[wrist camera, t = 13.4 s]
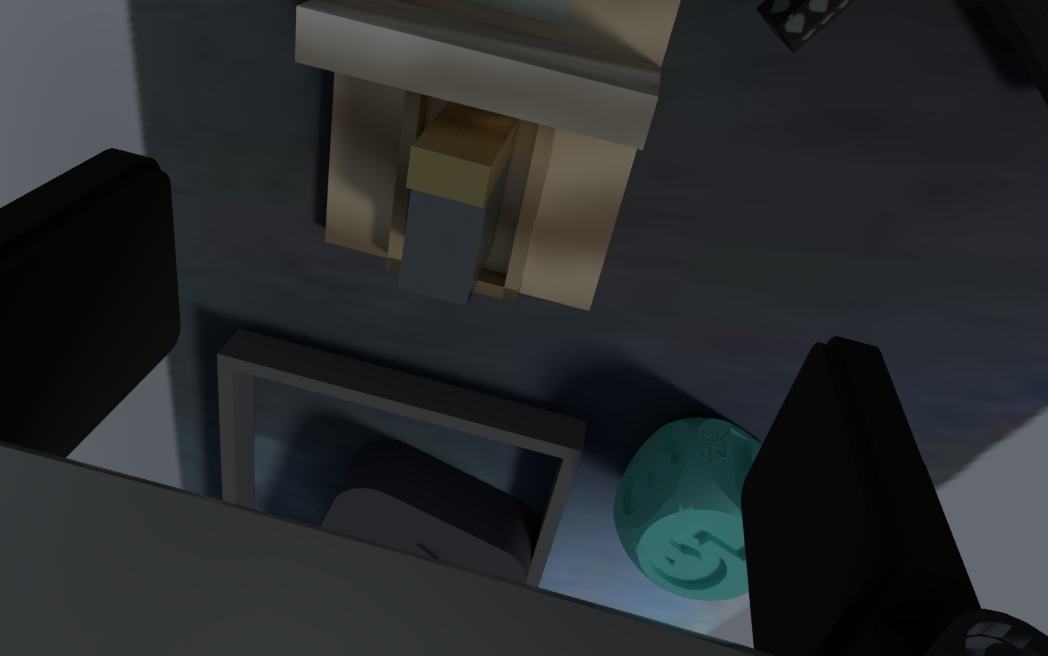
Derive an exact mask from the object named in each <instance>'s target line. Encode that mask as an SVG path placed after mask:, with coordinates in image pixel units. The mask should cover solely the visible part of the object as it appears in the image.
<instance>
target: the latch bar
mask: <svg viewBox="0 0 1048 656" xmlns="http://www.w3.org/2000/svg"><path fill="white" fill-rule="evenodd" d="M518 120H519V119H518V118H514V117H510V116H507V115H503V114H499V113H495V112H491V111H487V110H483V109H479V108H475V107H471V106H467V105H463V104H459V103H455V102H451V101H449V102H448V104H447V105H446V106H445V107H444V108H443V109H442V111H441V112H440V113H439V114H438V115H437V116H436V118H435V119H434V120H433V121H432V122H431V123H430V125H429V126H428V127H427V128H426V129H425V130H424V131H423V133H422V134H421V135H420V136H419V137H418V138H417V140H416V141H415V142H414V143H413V144H412V145H411V152H410V159H409V167H408V175H407V183H406V188H410V189H411V193H410V200H409V208H408V215H407V223H406V231H405V238H404V246H403V253H402V261H401V268H400V276H399V283H398V288H401V289H405V290H408V291H412V292H416V293H420V294H423V295H427V296H431V297H434V298H438V299H442V300H445V301H449V302H453V303H456V304H460V305H464V306H467V304H468V302H469V300H470V298H471V296H472V293H473V291H474V289H475V287H476V284H477V282H478V280H479V278H480V276H481V273H482V271H483V269H484V267H485V264H486V262H487V260H488V258H489V256H490V253H491V250H492V245H493V240H494V235H495V231H496V226H497V221H498V216H499V211H500V206H501V202H502V197H503V192H504V187H505V182H506V178H507V173H508V168H509V163H510V158H511V153H512V149H513V144H514V139H515V134H516V129H517V125H518Z"/></svg>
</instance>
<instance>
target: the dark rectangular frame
mask: <svg viewBox="0 0 1048 656" xmlns="http://www.w3.org/2000/svg"><path fill="white" fill-rule="evenodd" d="M217 368H218V395H219V421H220V447H221V473H222V500H223V501H227V502H231V503H234V504H238V505H242V506H245V507H249V508H253V509H254V376H257V377H261V378H265V379H268V380H272V381H276V382H279V383H283V384H287V385H291V386H294V387H298V388H302V389H306V390H309V391H313V392H317V393H320V394H324V395H328V396H332V397H335V398H339V399H343V400H346V401H350V402H354V403H358V404H361V405H365V406H369V407H373V408H376V409H380V410H384V411H387V412H391V413H395V414H399V415H402V416H406V417H410V418H414V419H417V420H421V421H425V422H428V423H432V424H436V425H440V426H443V427H447V428H451V429H455V430H458V431H462V432H466V433H469V434H473V435H477V436H481V437H484V438H488V439H492V440H496V441H499V442H503V443H507V444H510V445H514V446H518V447H522V448H525V449H529V450H533V451H537V452H540V453H544V454H548V455H551V456H555V457H559V458H560V460H559V464H558V467H557V470H556V473H555V476H554V480H553V483H552V486H551V489H550V493H549V496H548V499H547V502H546V506H545V509H544V512H543V515H542V519H541V522H540V525H539V528H538V532H537V535H536V539H535V544H534V549H533V554H532V559H531V564H530V568H529V573H528V578H527V583H526V584H528V585H531V586H535V587H538V586H539V583H540V580H541V577H542V574H543V571H544V568H545V564H546V561H547V558H548V555H549V552H550V549H551V546H552V543H553V540H554V537H555V534H556V531H557V528H558V525H559V522H560V519H561V516H562V513H563V510H564V507H565V504H566V501H567V498H568V495H569V492H570V489H571V486H572V483H573V480H574V477H575V473H576V470H577V467H578V464H579V461H580V458H581V455H582V452H583V447H584V440H585V434H586V428H587V421H585V420H581V419H578V418H574V417H570V416H566V415H563V414H559V413H555V412H551V411H548V410H544V409H540V408H536V407H532V406H529V405H525V404H521V403H517V402H514V401H510V400H506V399H502V398H499V397H495V396H491V395H487V394H484V393H480V392H476V391H472V390H469V389H465V388H461V387H457V386H454V385H450V384H446V383H442V382H439V381H435V380H431V379H427V378H424V377H420V376H416V375H412V374H409V373H405V372H401V371H397V370H394V369H390V368H386V367H382V366H379V365H375V364H371V363H367V362H364V361H360V360H356V359H352V358H349V357H345V356H341V355H337V354H334V353H330V352H326V351H322V350H319V349H315V348H311V347H307V346H304V345H300V344H296V343H292V342H289V341H285V340H281V339H277V338H274V337H270V336H266V335H262V334H259V333H255V332H251V331H247V330H244V329H240V328H239V329H238V330H237V332H236V333H235V334H234V335H233V336H232V337H231V338H230V339H229V341H228V342H227V343H226V344H225V345H224V346H223V347H222V348H221V350H220V351H219V352H218V353H217Z"/></svg>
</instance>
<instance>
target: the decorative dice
mask: <svg viewBox="0 0 1048 656" xmlns="http://www.w3.org/2000/svg"><path fill="white" fill-rule="evenodd" d="M761 446H762V445H761V444H760V443H759V442H757V441H756V440H755V439H754V438H753V437H752V436H750V435H749V434H748V433H746V432H745V431H744V430H742V429H741V428H739V427H737V426H735V425H733V424H731V423H729V422H727V421H723V420H719V419H714V418H702V417H697V418H686V419H681V420H676V421H673V422H670V423H668V424H666V425H664V426H662V427H661V428H660V429H658V430H657V431H656V432H655V433H653V434H652V435H651V436H650V437H649V438H648V439H647V440H646V442H645V443H644V444H643V445H642V446H641V447H640V449H639V450H638V451H637V453H636V454H635V456H634V457H633V459H632V460H631V462H630V464H629V465H628V467H627V469H626V471H625V473H624V475H623V477H622V479H621V482H620V484H619V487H618V490H617V493H616V497H615V501H614V510H613V513H614V521H615V526H616V530H617V533H618V536H619V539H620V541H621V543H622V545H623V547H624V549H625V551H626V552H627V554H628V556H629V557H630V559H631V560H632V561H633V563H634V564H635V565H636V566H637V568H638V569H639V570H640V571H641V572H642V573H643V574H644V575H645V576H646V577H647V578H649V579H650V580H651V581H652V582H654V583H655V584H656V585H658V586H659V587H661V588H663V589H665V590H667V591H669V592H671V593H673V594H676V595H679V596H682V597H685V598H690V599H695V600H707V601H712V600H724V599H729V598H733V597H737V596H740V595H743V594H745V593H747V592H749V588H748V577H747V566H746V555H745V544H744V533H743V522H742V511H741V492H742V487H743V484H744V480H745V478H746V476H747V474H748V472H749V470H750V468H751V466H752V464H753V462H754V460H755V458H756V456H757V454H758V452H759V450H760V448H761Z"/></svg>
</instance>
